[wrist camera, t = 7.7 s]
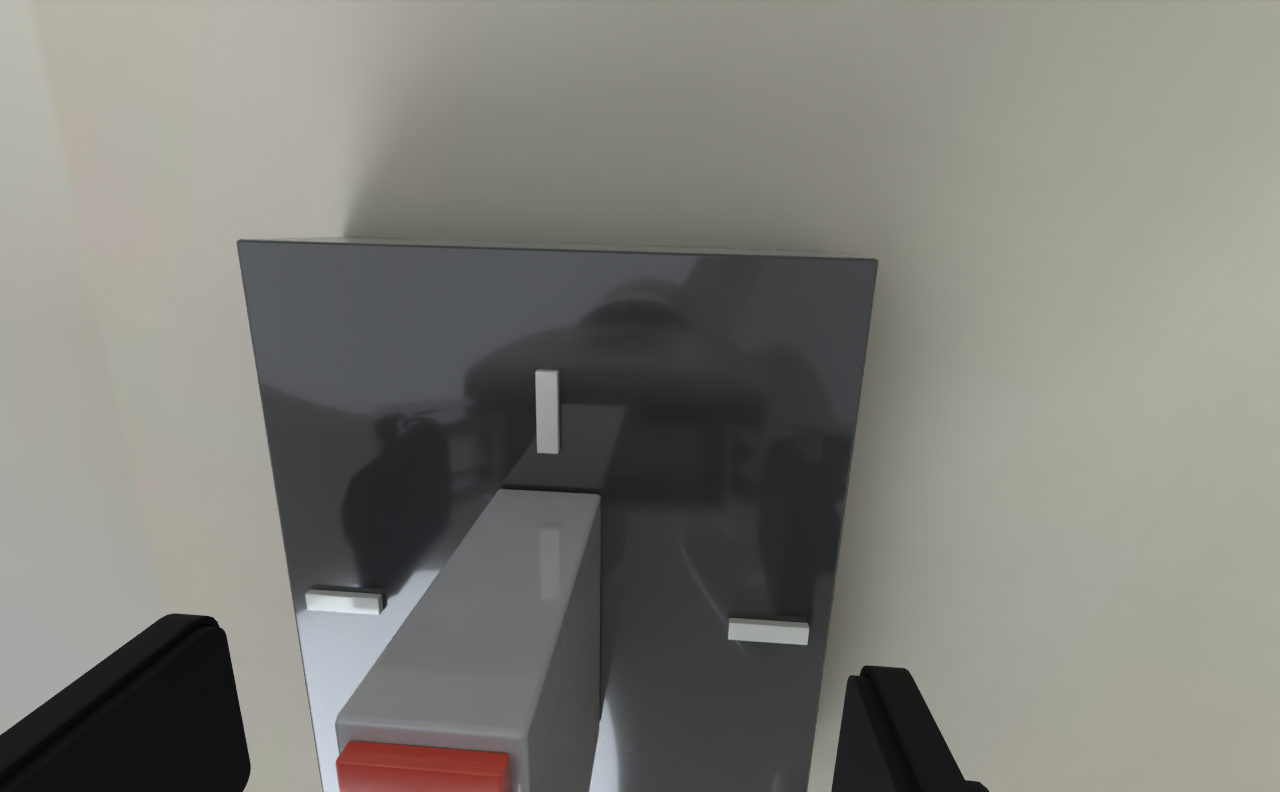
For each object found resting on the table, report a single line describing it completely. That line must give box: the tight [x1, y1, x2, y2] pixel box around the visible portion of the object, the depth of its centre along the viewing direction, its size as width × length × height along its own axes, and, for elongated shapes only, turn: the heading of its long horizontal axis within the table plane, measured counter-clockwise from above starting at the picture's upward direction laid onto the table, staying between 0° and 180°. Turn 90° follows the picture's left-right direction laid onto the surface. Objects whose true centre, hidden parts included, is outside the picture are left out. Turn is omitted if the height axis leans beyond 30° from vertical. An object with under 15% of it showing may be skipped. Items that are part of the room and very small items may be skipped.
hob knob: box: [335, 489, 601, 792], centre depth 8 cm, size 5×2×5 cm, turn 179°
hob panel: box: [237, 237, 878, 792], centre depth 12 cm, size 13×10×3 cm
